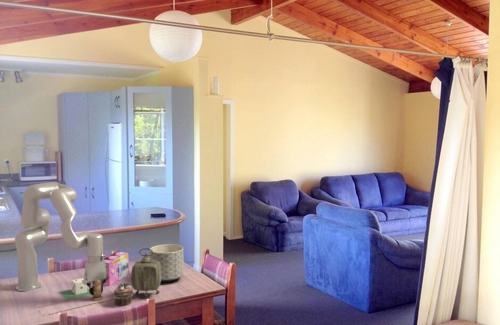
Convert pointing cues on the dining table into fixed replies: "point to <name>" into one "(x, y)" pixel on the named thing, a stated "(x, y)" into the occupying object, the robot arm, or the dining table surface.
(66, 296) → the dice mat
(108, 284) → the gum box
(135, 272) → the tabletop clock
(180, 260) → the planter
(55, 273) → the dining table surface
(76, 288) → the die
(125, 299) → the cupcake
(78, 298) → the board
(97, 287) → the pawn
